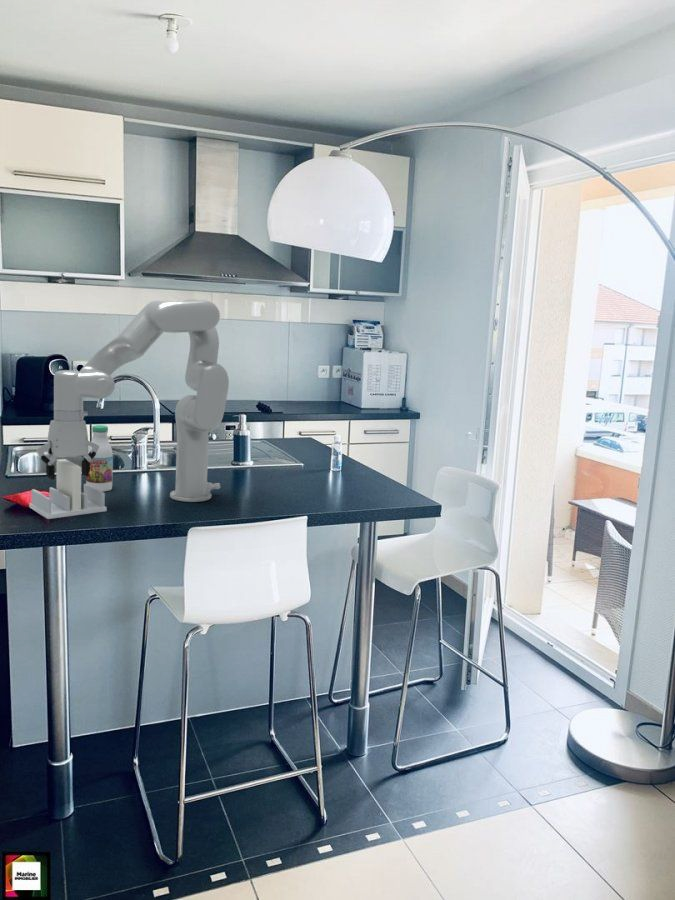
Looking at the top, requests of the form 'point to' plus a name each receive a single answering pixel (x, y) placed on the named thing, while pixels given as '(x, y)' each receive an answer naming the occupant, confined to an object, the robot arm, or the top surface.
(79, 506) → the plate
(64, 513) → the dish rack
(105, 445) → the milk bottle
